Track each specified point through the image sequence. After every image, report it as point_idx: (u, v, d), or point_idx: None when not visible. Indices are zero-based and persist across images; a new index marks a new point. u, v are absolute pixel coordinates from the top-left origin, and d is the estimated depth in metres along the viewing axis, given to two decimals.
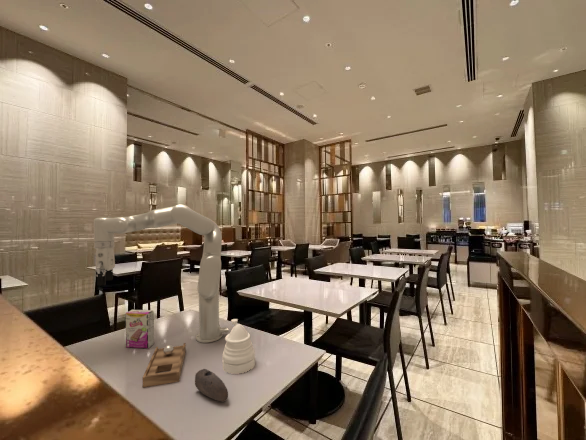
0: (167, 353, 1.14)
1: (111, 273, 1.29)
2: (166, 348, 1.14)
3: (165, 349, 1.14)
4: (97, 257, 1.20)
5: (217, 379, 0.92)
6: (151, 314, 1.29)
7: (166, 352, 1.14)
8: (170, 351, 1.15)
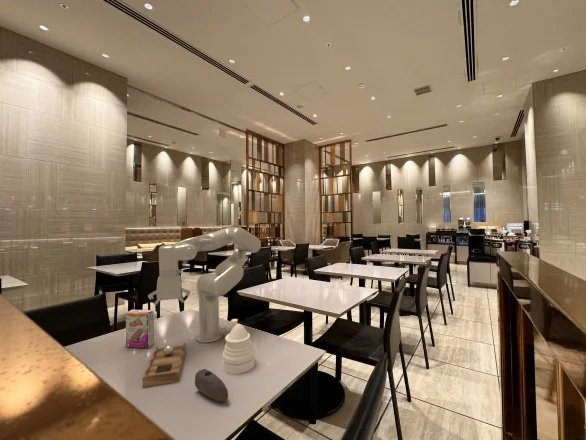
0: (167, 353, 1.14)
1: (159, 304, 1.22)
2: (166, 348, 1.14)
3: (165, 349, 1.14)
4: (180, 284, 1.22)
5: (217, 379, 0.92)
6: (151, 314, 1.29)
7: (166, 352, 1.14)
8: (170, 351, 1.15)
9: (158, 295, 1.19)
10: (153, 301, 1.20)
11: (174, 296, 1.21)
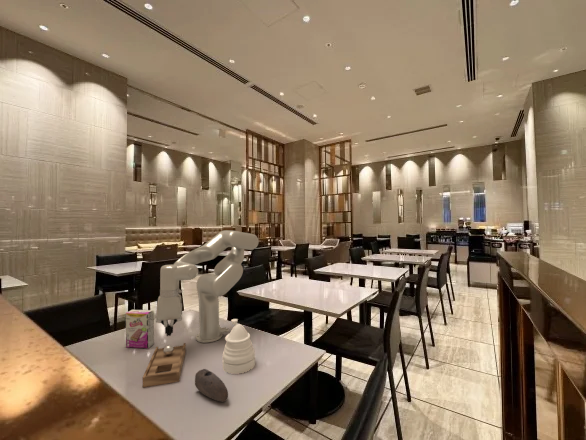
0: (167, 353, 1.14)
1: None
2: (166, 348, 1.14)
3: (165, 349, 1.14)
4: (180, 304, 1.22)
5: (217, 379, 0.92)
6: (151, 314, 1.29)
7: (166, 352, 1.14)
8: (170, 351, 1.15)
9: (158, 315, 1.19)
10: (163, 323, 1.21)
11: (174, 317, 1.21)
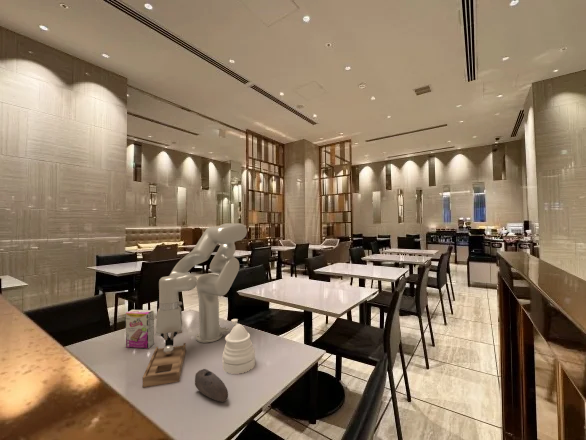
0: (167, 353, 1.14)
1: None
2: (166, 348, 1.14)
3: (165, 349, 1.14)
4: (180, 316, 1.19)
5: (217, 379, 0.92)
6: (151, 314, 1.29)
7: (166, 352, 1.14)
8: (170, 351, 1.15)
9: (157, 328, 1.16)
10: (163, 336, 1.18)
11: (174, 329, 1.18)
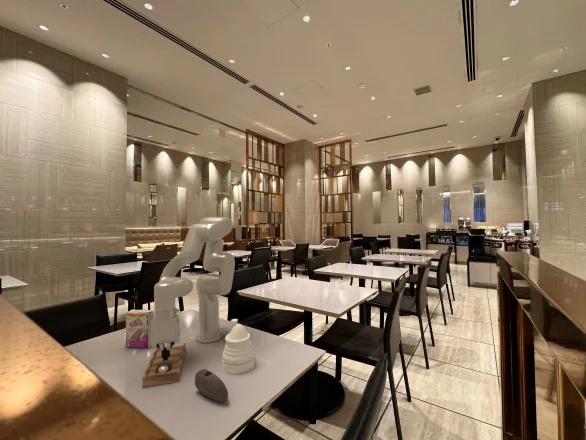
0: None
1: None
2: (160, 369, 1.03)
3: (159, 370, 1.03)
4: (177, 325, 1.10)
5: (217, 379, 0.92)
6: (151, 314, 1.29)
7: None
8: None
9: (153, 338, 1.07)
10: (159, 347, 1.09)
11: (171, 339, 1.09)
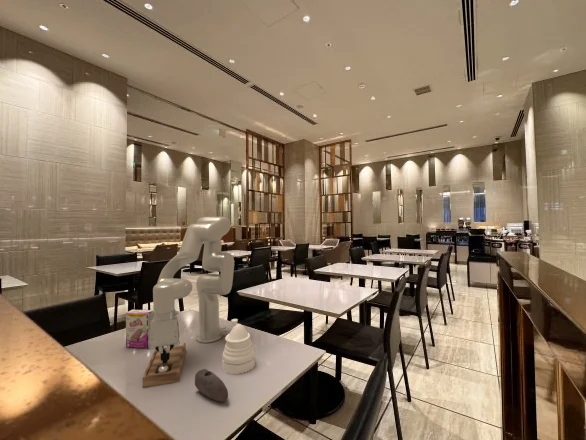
0: None
1: None
2: (160, 369, 1.03)
3: (159, 370, 1.03)
4: (177, 327, 1.08)
5: (217, 379, 0.92)
6: (151, 314, 1.29)
7: None
8: None
9: (152, 341, 1.05)
10: (158, 349, 1.07)
11: (170, 342, 1.07)
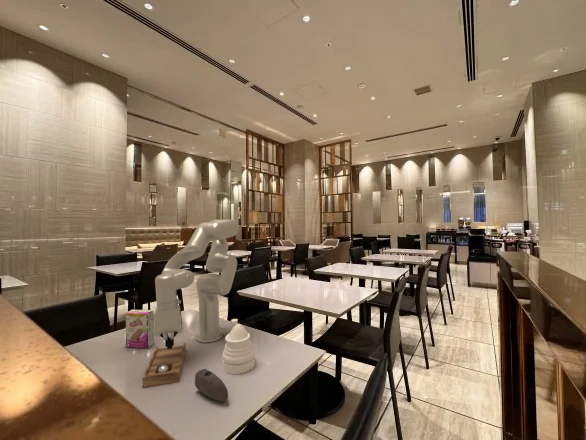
0: None
1: None
2: (160, 369, 1.03)
3: (159, 370, 1.03)
4: (179, 315, 1.13)
5: (217, 379, 0.92)
6: (151, 314, 1.29)
7: None
8: None
9: (156, 329, 1.10)
10: (163, 336, 1.12)
11: (174, 329, 1.12)
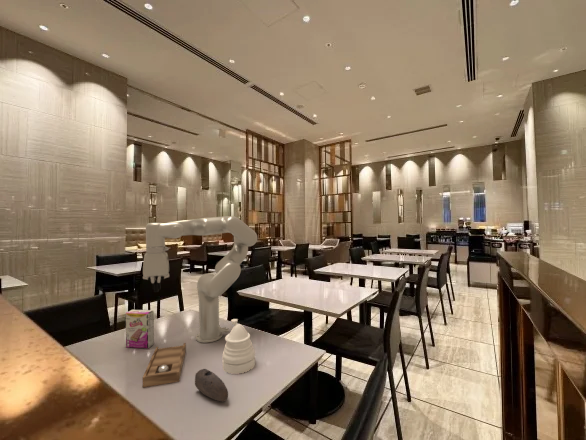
0: None
1: None
2: (161, 368, 1.04)
3: (159, 369, 1.03)
4: (167, 261, 1.23)
5: (217, 379, 0.92)
6: (151, 314, 1.29)
7: None
8: None
9: (144, 271, 1.20)
10: (150, 279, 1.22)
11: (161, 273, 1.22)
